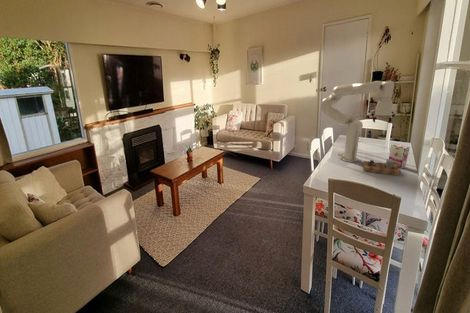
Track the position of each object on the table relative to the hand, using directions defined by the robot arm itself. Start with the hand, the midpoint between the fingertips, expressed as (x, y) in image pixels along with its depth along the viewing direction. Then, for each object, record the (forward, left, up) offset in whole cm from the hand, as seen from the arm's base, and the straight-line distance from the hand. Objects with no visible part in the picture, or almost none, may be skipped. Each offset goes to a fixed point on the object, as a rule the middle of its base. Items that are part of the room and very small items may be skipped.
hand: (381, 122), depth 182 cm
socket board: (+3, -11, -33) cm, 35 cm away
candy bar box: (+15, +1, -34) cm, 37 cm away
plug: (+8, -11, -33) cm, 36 cm away
